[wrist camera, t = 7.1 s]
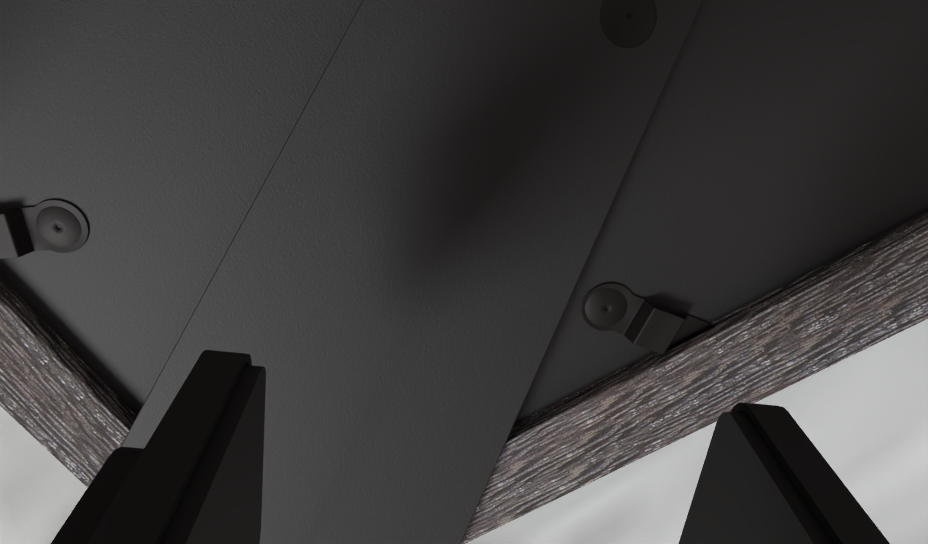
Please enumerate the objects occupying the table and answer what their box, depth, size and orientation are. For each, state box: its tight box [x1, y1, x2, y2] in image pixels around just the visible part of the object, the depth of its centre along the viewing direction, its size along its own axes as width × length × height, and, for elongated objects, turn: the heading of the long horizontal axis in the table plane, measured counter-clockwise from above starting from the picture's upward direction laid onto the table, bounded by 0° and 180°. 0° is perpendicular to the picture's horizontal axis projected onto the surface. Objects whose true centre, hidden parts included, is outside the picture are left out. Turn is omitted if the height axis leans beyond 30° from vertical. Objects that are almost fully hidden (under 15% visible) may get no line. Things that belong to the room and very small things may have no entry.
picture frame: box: [0, 0, 928, 544], centre depth 12 cm, size 16×2×21 cm
